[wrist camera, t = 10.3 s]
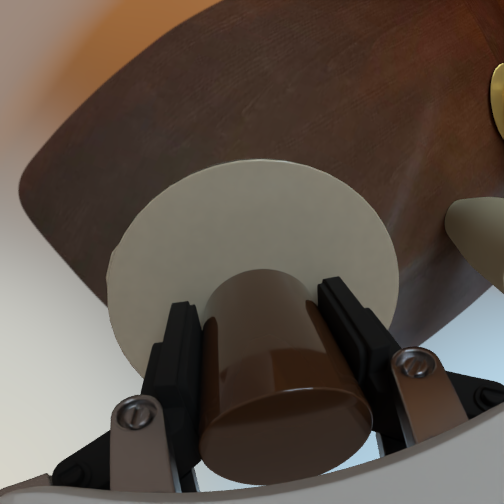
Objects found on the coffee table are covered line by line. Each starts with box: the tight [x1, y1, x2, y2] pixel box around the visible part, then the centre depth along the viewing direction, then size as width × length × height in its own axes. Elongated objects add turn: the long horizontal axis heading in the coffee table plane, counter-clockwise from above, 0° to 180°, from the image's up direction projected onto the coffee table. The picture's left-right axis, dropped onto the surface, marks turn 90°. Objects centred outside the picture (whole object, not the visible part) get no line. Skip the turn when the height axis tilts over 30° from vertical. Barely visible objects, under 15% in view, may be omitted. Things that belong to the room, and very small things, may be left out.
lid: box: [107, 158, 399, 485], centre depth 9 cm, size 11×11×7 cm
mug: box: [445, 197, 504, 294], centre depth 26 cm, size 11×10×12 cm
